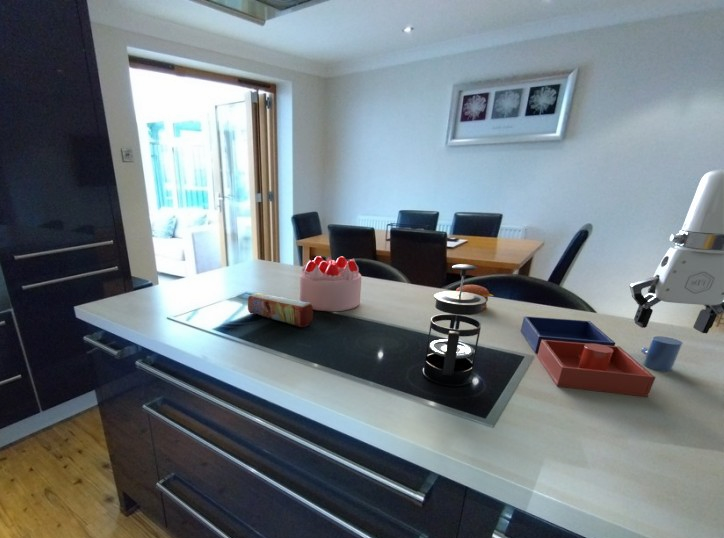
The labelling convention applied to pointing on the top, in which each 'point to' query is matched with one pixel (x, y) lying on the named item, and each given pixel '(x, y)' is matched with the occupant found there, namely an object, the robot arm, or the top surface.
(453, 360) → the french press
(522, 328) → the blue bin
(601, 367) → the red block
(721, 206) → the robot arm
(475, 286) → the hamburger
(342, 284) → the cake
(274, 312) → the snack package
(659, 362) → the blue cylinder
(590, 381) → the red bin
